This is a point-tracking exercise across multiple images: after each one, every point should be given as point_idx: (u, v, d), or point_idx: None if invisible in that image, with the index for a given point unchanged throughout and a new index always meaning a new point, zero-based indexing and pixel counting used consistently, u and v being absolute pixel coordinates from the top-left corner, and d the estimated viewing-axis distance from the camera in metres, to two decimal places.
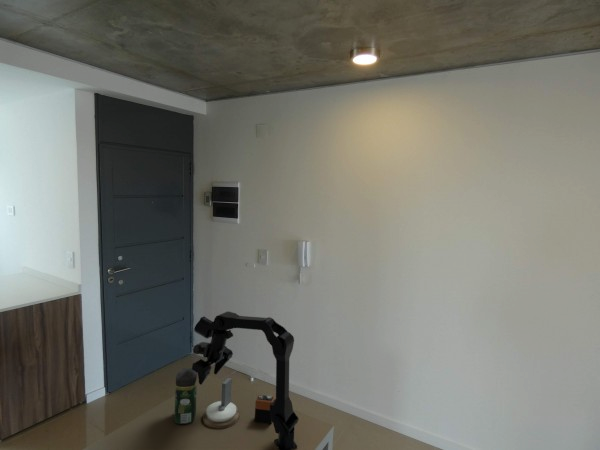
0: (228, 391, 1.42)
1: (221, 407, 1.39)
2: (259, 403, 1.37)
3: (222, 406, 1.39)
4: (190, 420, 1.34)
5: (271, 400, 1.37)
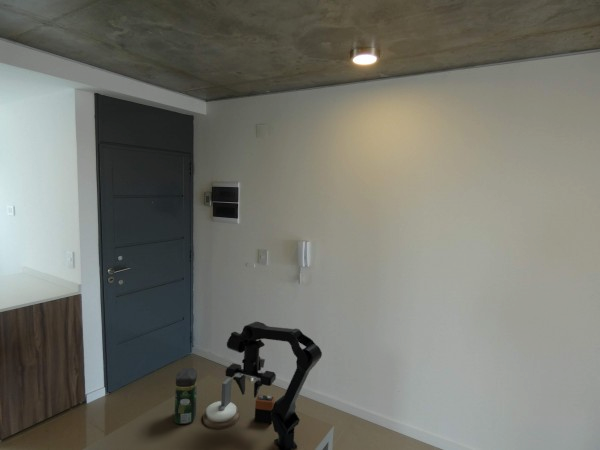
0: (228, 391, 1.42)
1: (221, 407, 1.39)
2: (259, 403, 1.37)
3: (222, 406, 1.39)
4: (190, 420, 1.34)
5: (271, 400, 1.37)
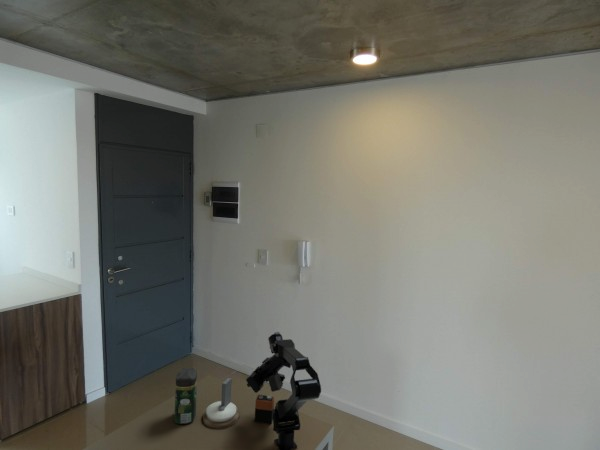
0: (228, 391, 1.42)
1: (221, 407, 1.39)
2: (259, 403, 1.37)
3: (222, 406, 1.39)
4: (190, 420, 1.34)
5: (271, 400, 1.37)
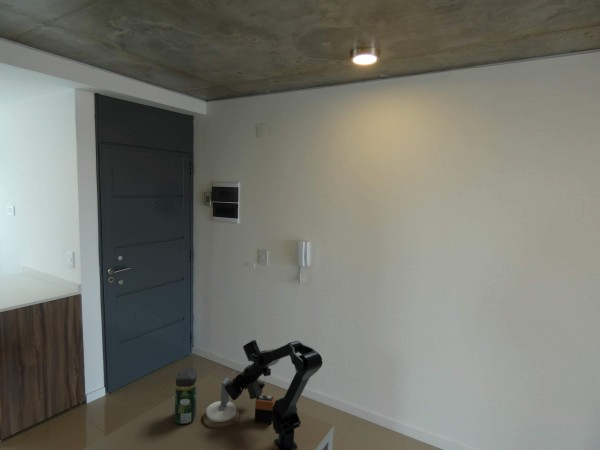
0: None
1: (221, 407, 1.39)
2: (259, 403, 1.37)
3: (222, 406, 1.39)
4: (190, 420, 1.34)
5: (271, 400, 1.37)
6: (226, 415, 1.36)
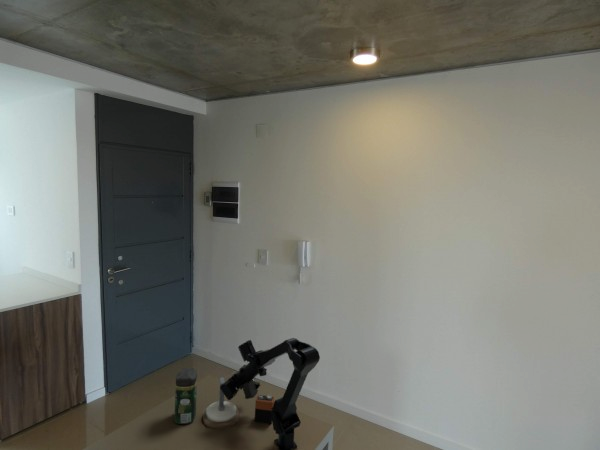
0: None
1: (222, 407, 1.39)
2: (259, 403, 1.37)
3: (222, 406, 1.39)
4: (190, 420, 1.34)
5: (271, 400, 1.37)
6: (230, 413, 1.37)
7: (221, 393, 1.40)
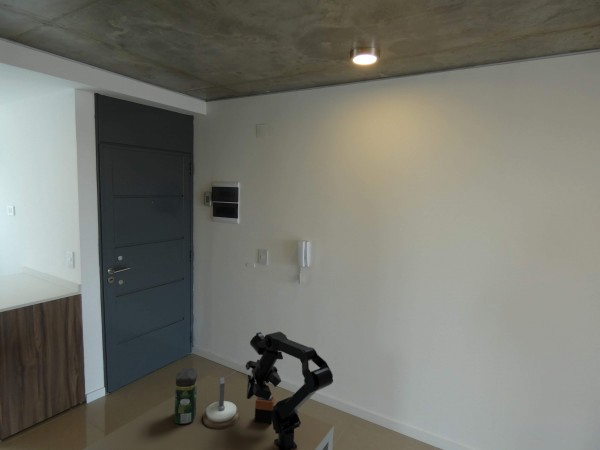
0: None
1: (222, 407, 1.39)
2: (259, 403, 1.37)
3: (222, 406, 1.39)
4: (190, 420, 1.34)
5: (271, 400, 1.37)
6: (230, 413, 1.37)
7: (221, 393, 1.40)
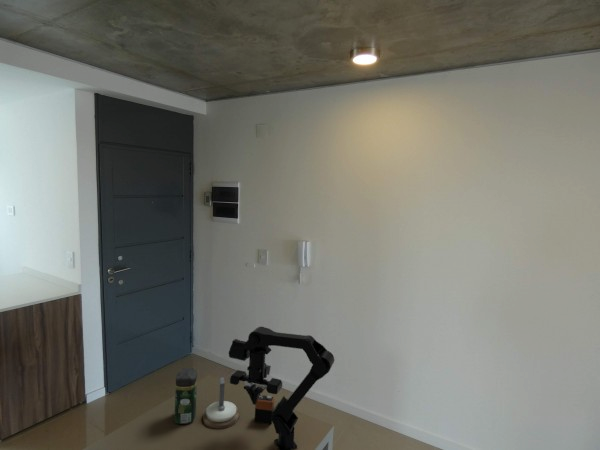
0: None
1: (222, 407, 1.39)
2: (259, 403, 1.37)
3: (222, 406, 1.39)
4: (190, 420, 1.34)
5: (271, 400, 1.37)
6: (230, 413, 1.37)
7: (221, 393, 1.40)
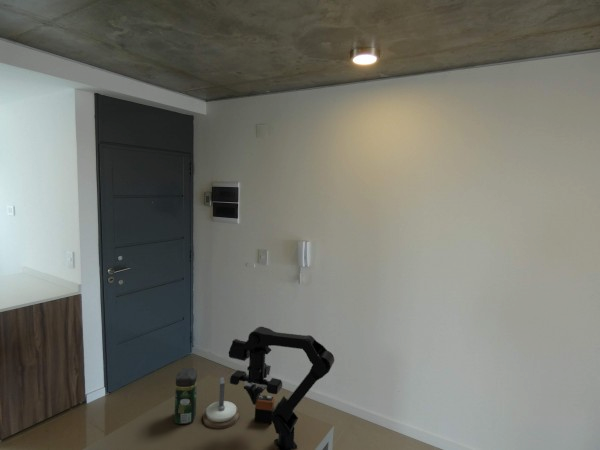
0: None
1: (222, 407, 1.39)
2: (259, 403, 1.37)
3: (222, 406, 1.39)
4: (190, 420, 1.34)
5: (271, 400, 1.37)
6: (230, 413, 1.37)
7: (221, 393, 1.40)
